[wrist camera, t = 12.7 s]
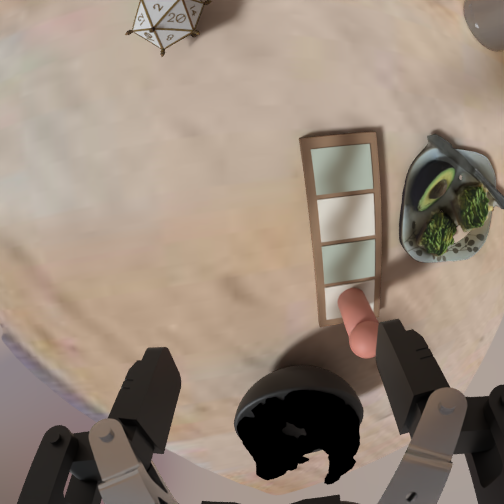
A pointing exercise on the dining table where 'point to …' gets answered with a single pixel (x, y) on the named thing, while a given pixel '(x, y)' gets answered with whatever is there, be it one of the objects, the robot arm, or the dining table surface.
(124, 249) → the dining table surface
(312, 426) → the coal bowl
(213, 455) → the dining table surface
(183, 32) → the game die
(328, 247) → the board
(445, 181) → the salad plate
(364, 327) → the pawn
